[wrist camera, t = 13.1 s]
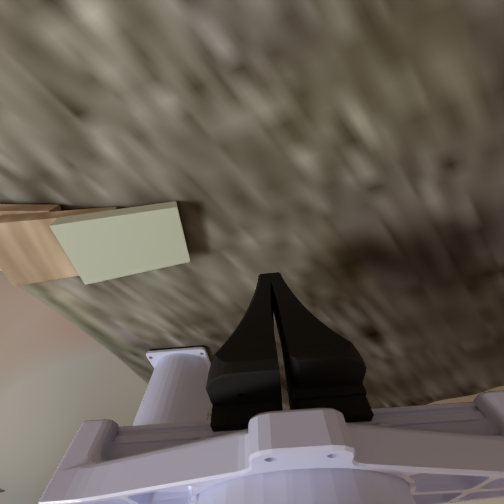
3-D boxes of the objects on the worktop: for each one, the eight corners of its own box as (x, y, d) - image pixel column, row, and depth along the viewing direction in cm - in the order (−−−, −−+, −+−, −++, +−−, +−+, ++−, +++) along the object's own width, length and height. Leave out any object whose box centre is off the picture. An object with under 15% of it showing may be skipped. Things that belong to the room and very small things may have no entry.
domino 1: (48, 211, 16) (-100, 210, 14) (71, 266, 18) (-52, 272, 16) (59, 204, 17) (-74, 203, 15) (79, 256, 19) (-33, 261, 17)
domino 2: (113, 213, 16) (-31, 225, 13) (131, 266, 18) (13, 286, 16) (116, 206, 17) (-15, 216, 14) (132, 257, 20) (24, 274, 17)
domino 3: (177, 207, 16) (48, 225, 13) (190, 261, 18) (85, 284, 16) (176, 200, 17) (59, 217, 15) (188, 252, 19) (91, 273, 17)
